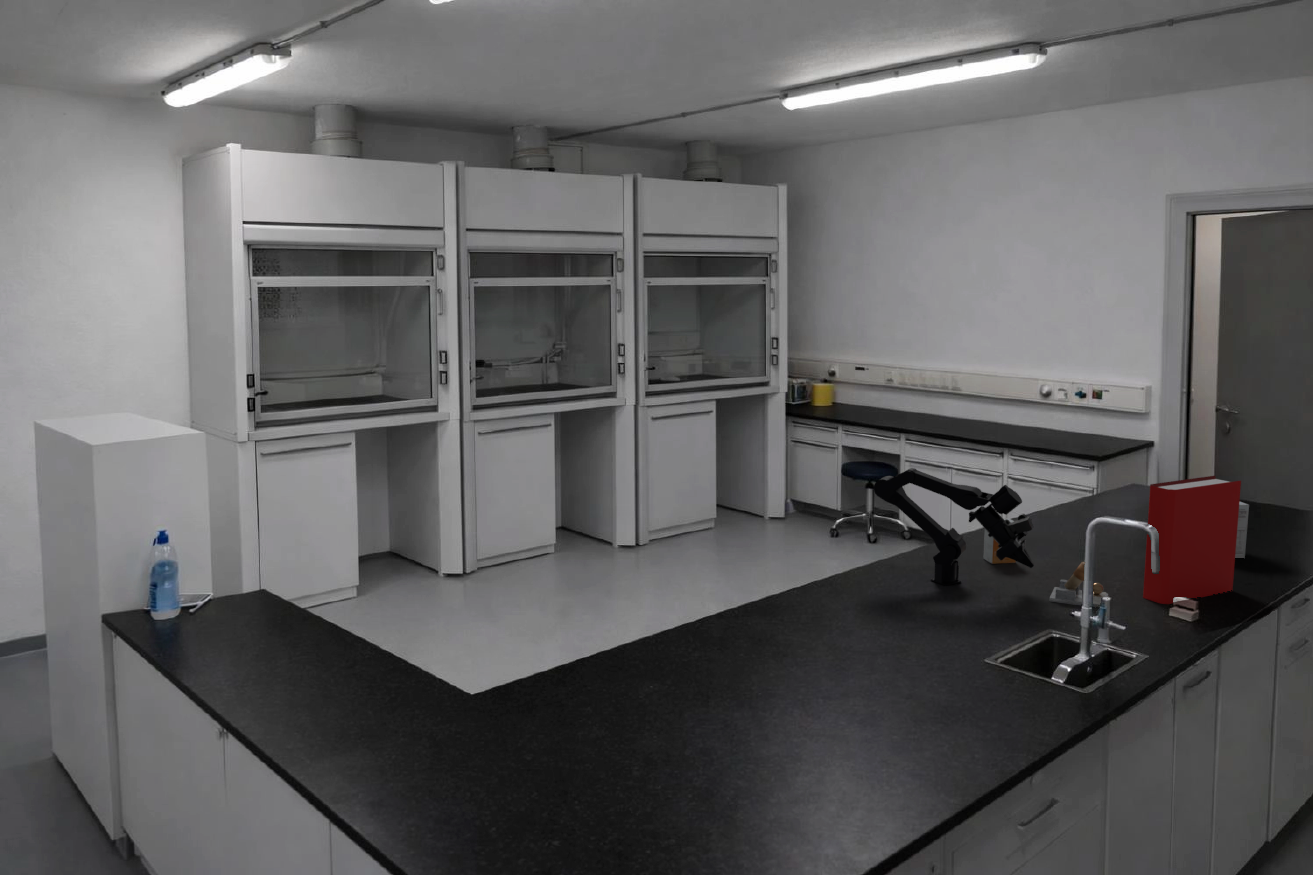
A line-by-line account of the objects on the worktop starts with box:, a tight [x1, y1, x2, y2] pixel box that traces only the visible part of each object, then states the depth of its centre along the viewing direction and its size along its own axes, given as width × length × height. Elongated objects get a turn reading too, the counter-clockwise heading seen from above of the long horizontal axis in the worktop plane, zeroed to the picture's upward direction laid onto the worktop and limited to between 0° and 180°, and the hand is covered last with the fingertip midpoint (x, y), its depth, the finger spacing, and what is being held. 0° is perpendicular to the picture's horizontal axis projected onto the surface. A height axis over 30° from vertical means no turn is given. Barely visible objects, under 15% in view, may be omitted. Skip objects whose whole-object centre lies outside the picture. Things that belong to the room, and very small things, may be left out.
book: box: [1142, 475, 1242, 605], centre depth 281 cm, size 27×8×32 cm, turn 114°
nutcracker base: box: [1048, 579, 1109, 606], centre depth 279 cm, size 14×11×5 cm
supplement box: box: [1235, 501, 1250, 559], centre depth 322 cm, size 13×13×18 cm
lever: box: [1064, 561, 1086, 590], centre depth 279 cm, size 3×6×10 cm
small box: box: [983, 517, 1017, 565], centre depth 317 cm, size 8×6×13 cm
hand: (1032, 566), depth 285 cm, fingers closed
